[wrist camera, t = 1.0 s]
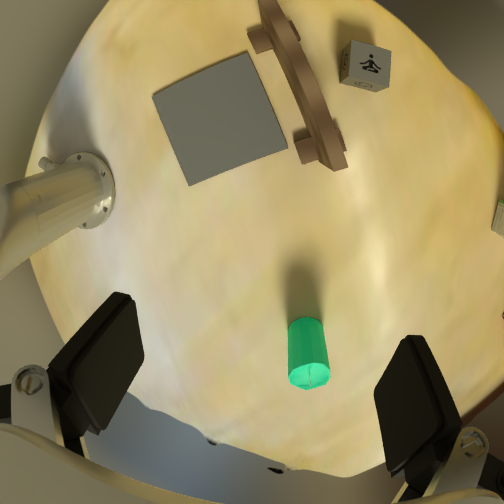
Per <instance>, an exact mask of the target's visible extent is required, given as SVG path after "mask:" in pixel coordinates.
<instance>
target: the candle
mask: <svg viewBox="0 0 504 504" xmlns="http://www.w3.org/2000/svg"><path fill="white" fill-rule="evenodd" d="M288 378H289V382H290V384H292V385H294V386H296V387H299V388H301V389H304V390H309V389H313V388H316V387H319V386H323V385H326V383H327V382H328V380H329V379H330V367H329V361H328V355H327V349H326V343H325V337H324V331H323V326H322V324H321V323H320V322H319V321H318V320H317V319H314V318H310V317H305V318H299V319H297V320H296V321H294V322H293V323H291V325H290V327H289V329H288Z"/></svg>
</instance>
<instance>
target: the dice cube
mask: <svg viewBox="0 0 504 504" xmlns="http://www.w3.org/2000/svg"><path fill="white" fill-rule="evenodd" d="M390 66H391V51H389V50H386V49H383V48H380V47H377V46H373V45H370V44H367V43H363V42H359V41H355V40H351V41H350V42H349V43H348V44H347V46H346V47H345V48H344V49H343V53H342V65H341V75H340V83H341V84H345V85H350V86H354V87H358V88H362V89H366V90H369V91H373V92H378V91H380V90H383V89H385V88H388V87H389V81H390Z"/></svg>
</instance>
